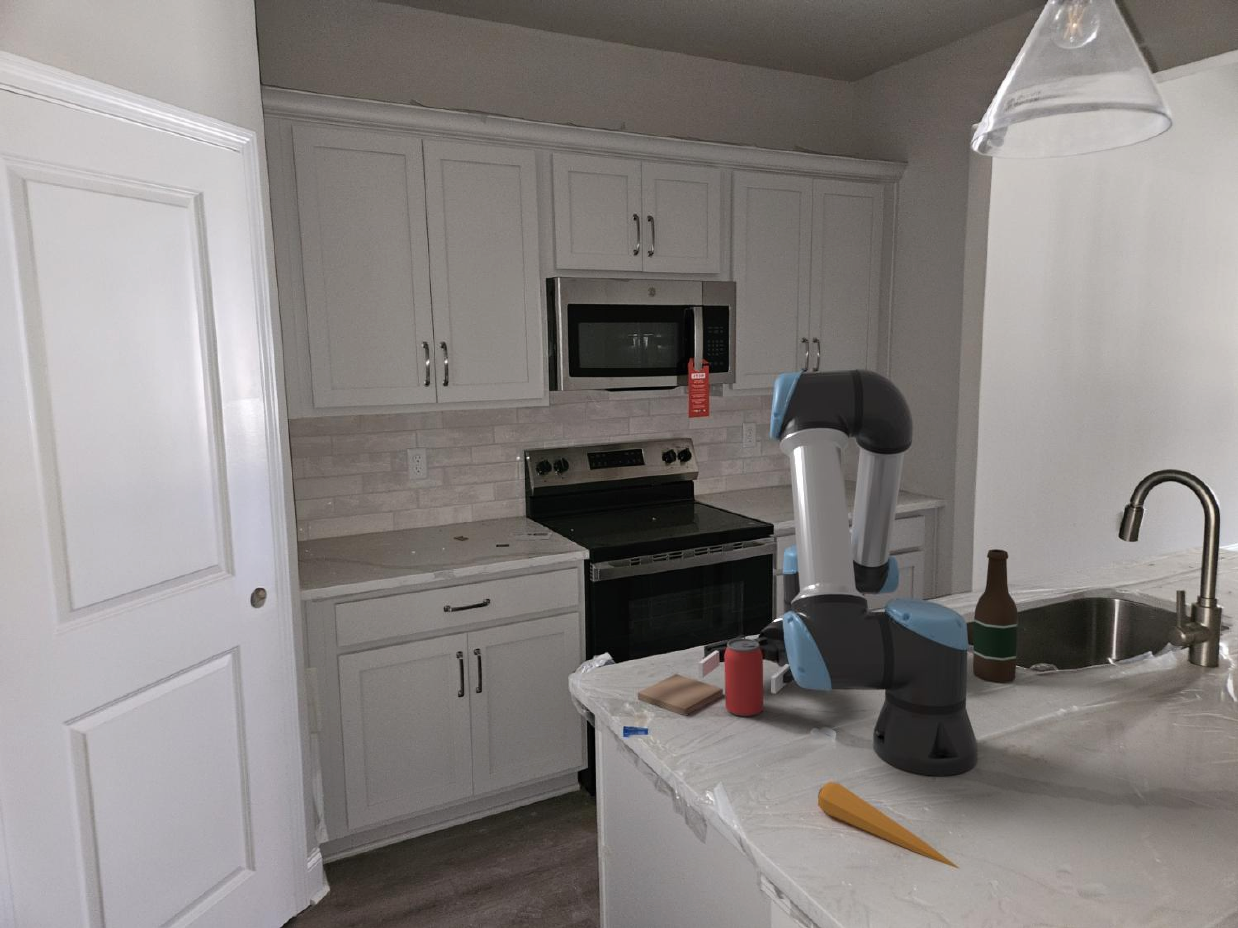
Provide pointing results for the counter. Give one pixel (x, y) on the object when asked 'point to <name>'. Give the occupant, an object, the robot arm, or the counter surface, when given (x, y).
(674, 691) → the walnut board
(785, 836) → the counter surface
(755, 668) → the beer can
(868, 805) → the carrot
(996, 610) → the beer bottle
